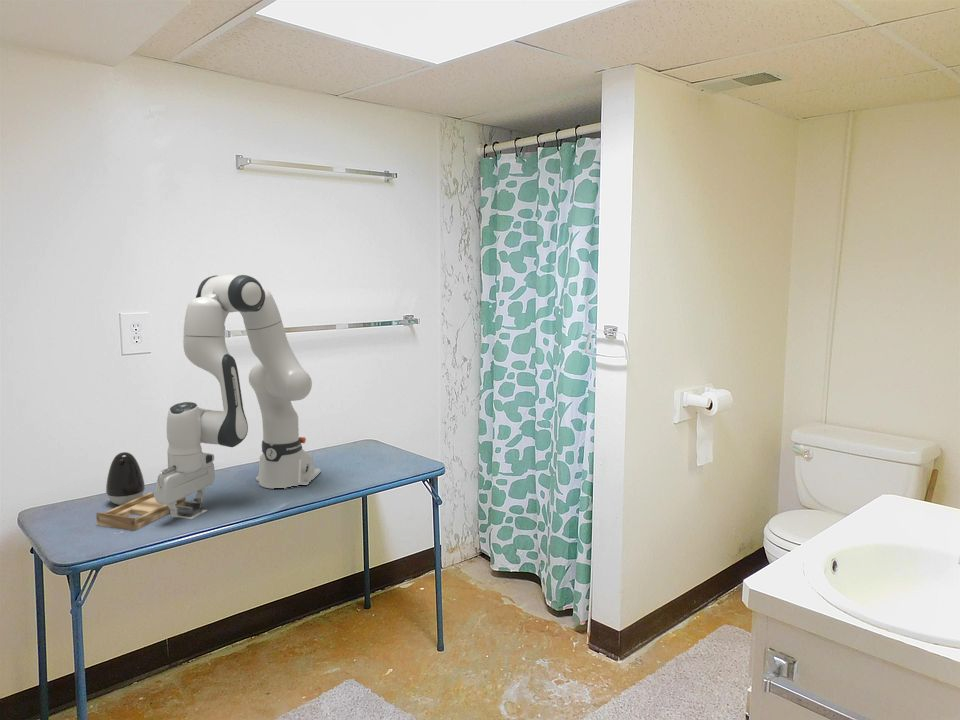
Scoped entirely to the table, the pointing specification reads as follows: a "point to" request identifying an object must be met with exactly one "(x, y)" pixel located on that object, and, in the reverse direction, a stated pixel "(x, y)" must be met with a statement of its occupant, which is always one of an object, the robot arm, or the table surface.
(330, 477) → the table surface
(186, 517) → the white square plate
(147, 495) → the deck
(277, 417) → the robot arm
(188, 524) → the table surface
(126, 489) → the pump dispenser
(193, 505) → the clip
